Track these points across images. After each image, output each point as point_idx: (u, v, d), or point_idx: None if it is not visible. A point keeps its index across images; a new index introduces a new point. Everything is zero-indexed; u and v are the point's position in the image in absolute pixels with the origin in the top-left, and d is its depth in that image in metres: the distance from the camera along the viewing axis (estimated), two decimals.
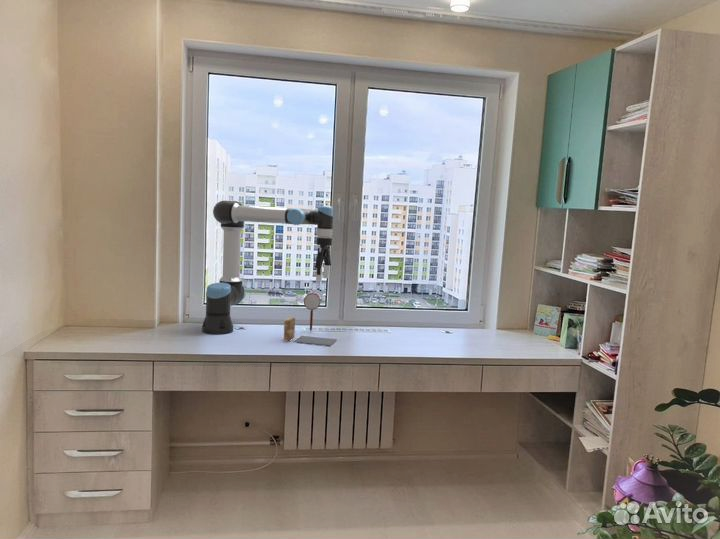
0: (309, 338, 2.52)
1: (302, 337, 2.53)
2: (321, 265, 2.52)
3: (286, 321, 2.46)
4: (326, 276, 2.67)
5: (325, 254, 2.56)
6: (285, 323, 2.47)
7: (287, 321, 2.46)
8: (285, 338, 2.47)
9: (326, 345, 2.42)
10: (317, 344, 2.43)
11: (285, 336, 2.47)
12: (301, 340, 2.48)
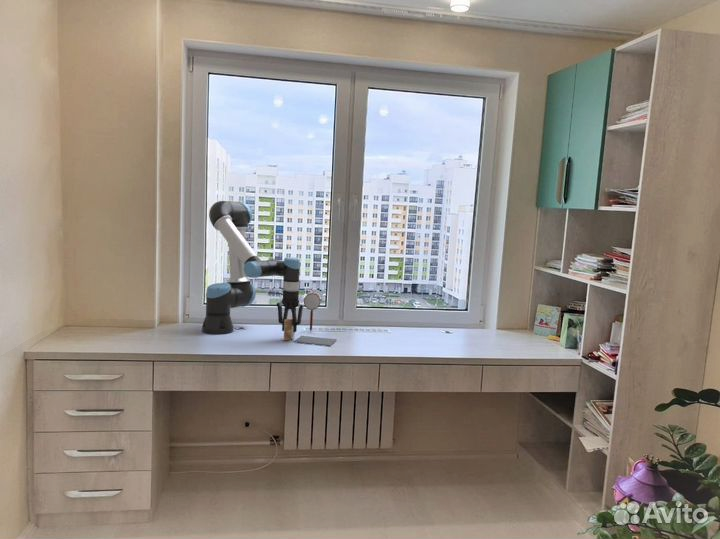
0: (309, 338, 2.52)
1: (302, 337, 2.53)
2: (282, 321, 2.49)
3: (286, 321, 2.46)
4: None
5: (285, 308, 2.48)
6: (285, 323, 2.47)
7: (287, 321, 2.46)
8: (285, 338, 2.47)
9: (326, 345, 2.42)
10: (317, 344, 2.43)
11: (285, 336, 2.47)
12: (301, 340, 2.48)
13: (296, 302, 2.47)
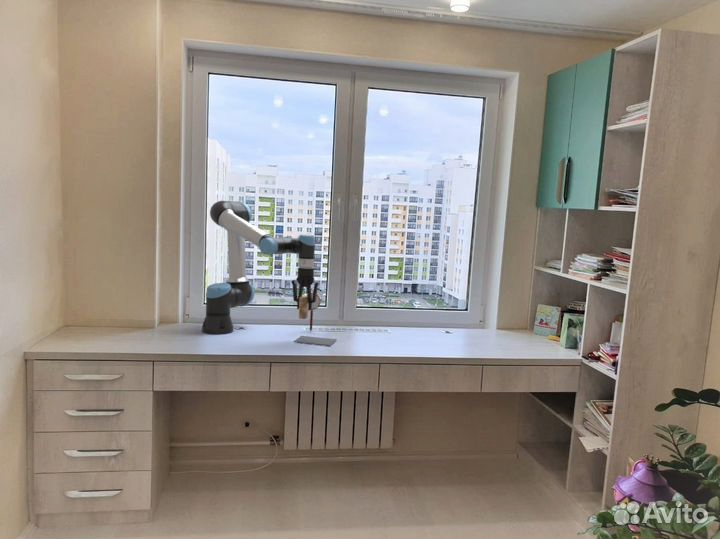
0: (309, 338, 2.52)
1: (302, 337, 2.53)
2: (297, 299, 2.47)
3: (301, 298, 2.44)
4: None
5: (300, 286, 2.45)
6: (301, 301, 2.44)
7: (302, 298, 2.44)
8: (300, 316, 2.45)
9: (326, 345, 2.42)
10: (317, 344, 2.43)
11: (300, 314, 2.45)
12: (301, 340, 2.48)
13: (311, 279, 2.44)
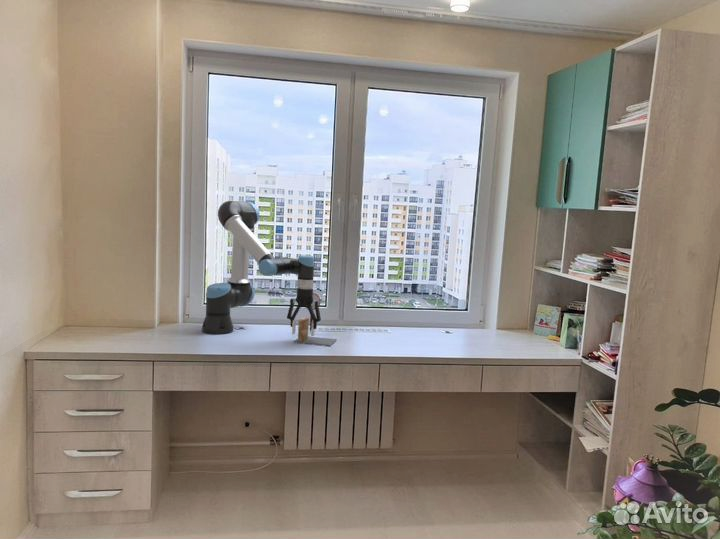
0: (309, 338, 2.52)
1: None
2: (291, 317, 2.48)
3: (300, 321, 2.45)
4: None
5: (298, 305, 2.46)
6: (299, 323, 2.45)
7: (301, 321, 2.45)
8: (299, 338, 2.46)
9: (326, 345, 2.42)
10: (317, 344, 2.43)
11: (299, 336, 2.46)
12: None
13: (310, 300, 2.46)
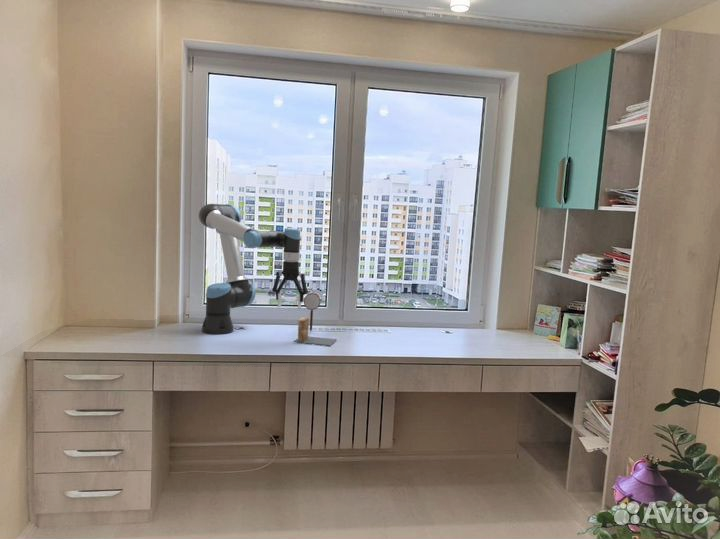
0: (309, 338, 2.52)
1: None
2: (277, 290, 2.48)
3: (300, 321, 2.45)
4: None
5: (284, 278, 2.46)
6: (299, 323, 2.45)
7: (301, 321, 2.45)
8: (299, 338, 2.46)
9: (326, 345, 2.42)
10: (317, 344, 2.43)
11: (299, 336, 2.46)
12: None
13: (296, 273, 2.46)
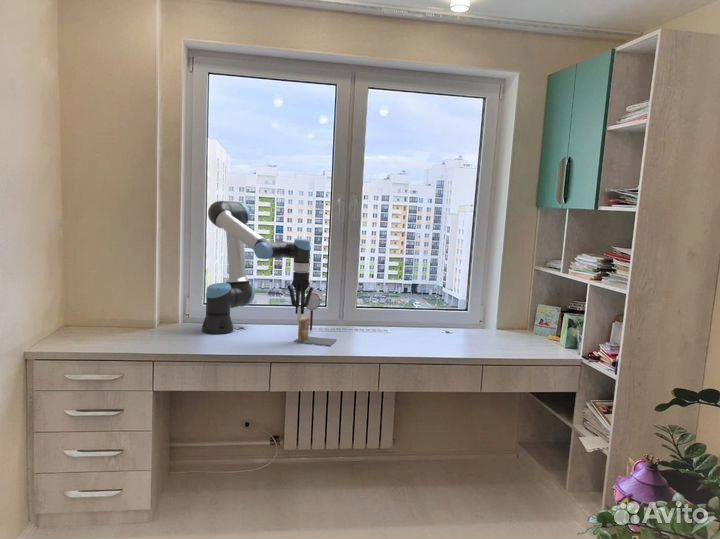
0: (309, 338, 2.52)
1: None
2: (296, 304, 2.47)
3: (301, 321, 2.45)
4: None
5: (296, 290, 2.46)
6: (300, 323, 2.45)
7: (302, 321, 2.45)
8: (299, 338, 2.46)
9: (326, 345, 2.42)
10: (317, 344, 2.43)
11: (299, 336, 2.46)
12: None
13: (307, 284, 2.45)
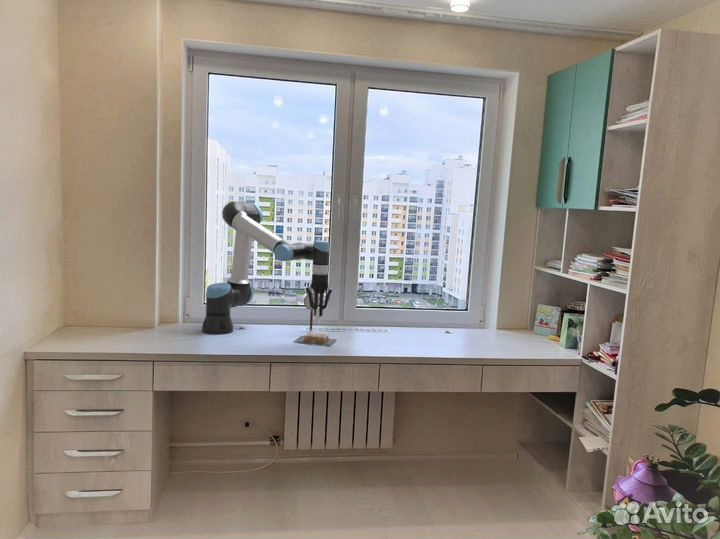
0: None
1: (302, 337, 2.53)
2: (314, 306, 2.45)
3: (323, 339, 2.44)
4: None
5: (315, 292, 2.44)
6: (321, 338, 2.44)
7: (323, 340, 2.44)
8: (306, 337, 2.45)
9: (326, 345, 2.42)
10: (317, 344, 2.43)
11: (308, 337, 2.45)
12: (301, 340, 2.48)
13: (325, 286, 2.43)
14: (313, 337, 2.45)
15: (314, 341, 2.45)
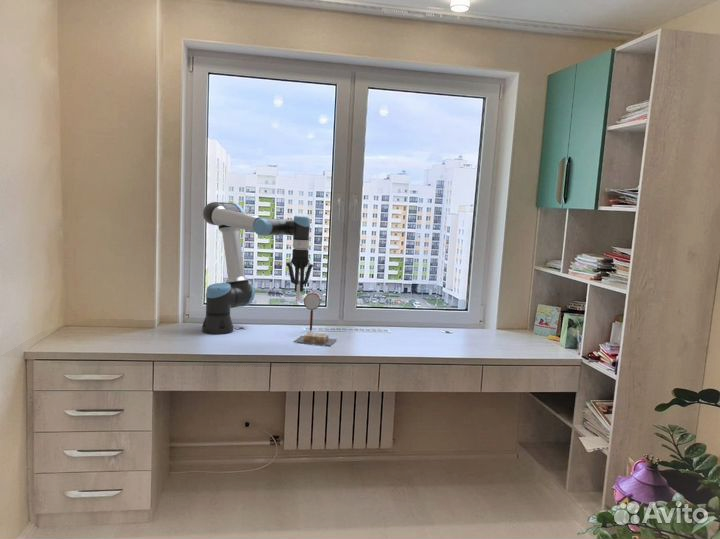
0: None
1: (302, 337, 2.53)
2: (295, 281, 2.46)
3: (323, 339, 2.44)
4: None
5: (296, 267, 2.45)
6: (321, 338, 2.44)
7: (323, 340, 2.44)
8: (306, 337, 2.45)
9: (326, 345, 2.42)
10: (317, 344, 2.43)
11: (308, 337, 2.45)
12: (301, 340, 2.48)
13: (306, 261, 2.44)
14: (313, 337, 2.45)
15: (314, 341, 2.45)
